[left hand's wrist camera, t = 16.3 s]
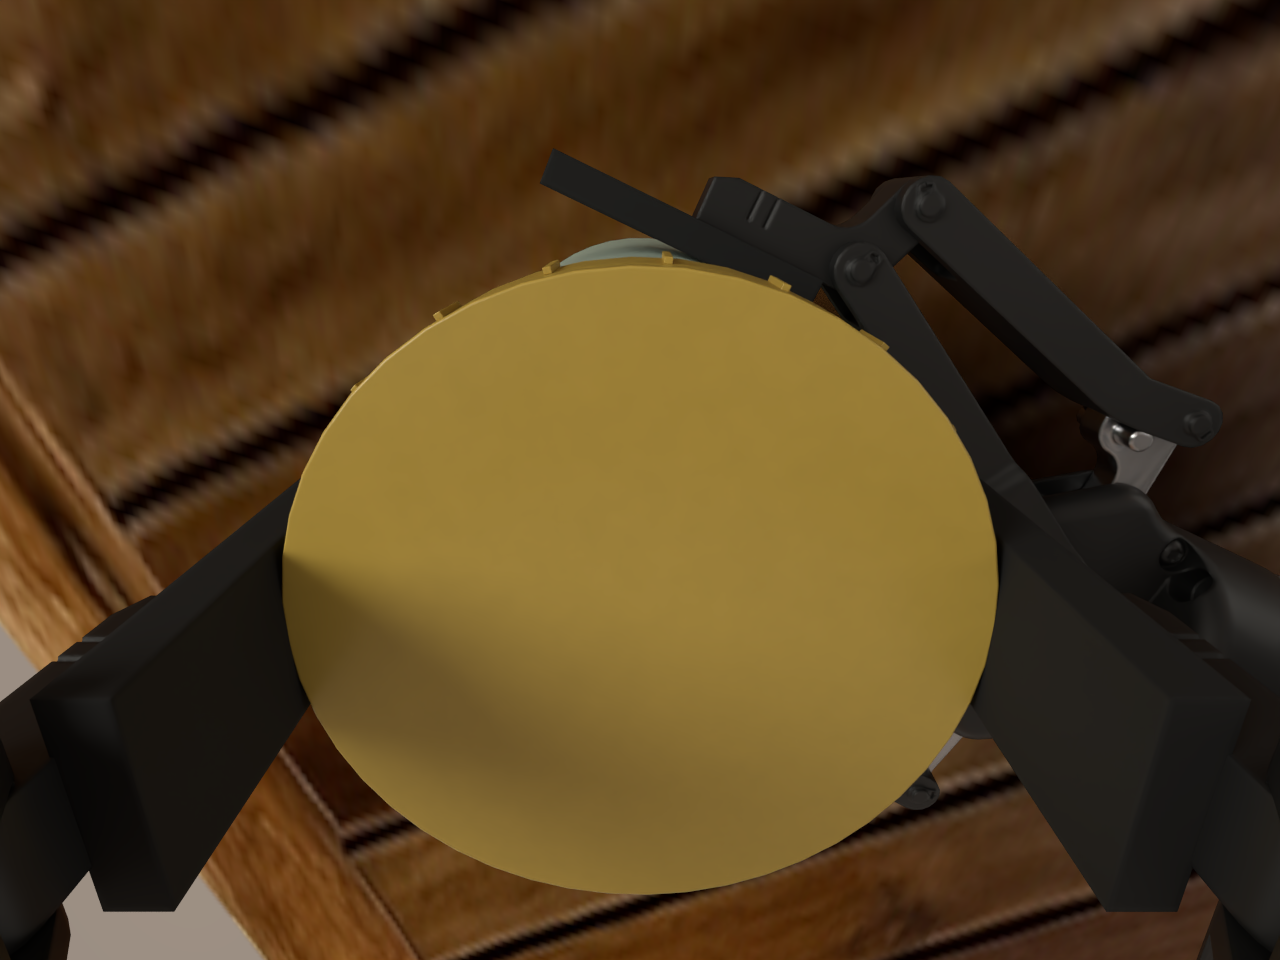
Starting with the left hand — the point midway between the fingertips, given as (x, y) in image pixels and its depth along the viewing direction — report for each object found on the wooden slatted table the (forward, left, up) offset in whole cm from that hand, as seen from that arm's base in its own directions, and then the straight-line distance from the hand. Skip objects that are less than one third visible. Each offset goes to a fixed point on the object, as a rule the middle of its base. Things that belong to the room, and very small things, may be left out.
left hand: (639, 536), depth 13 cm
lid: (0, 0, +3) cm, 3 cm away
